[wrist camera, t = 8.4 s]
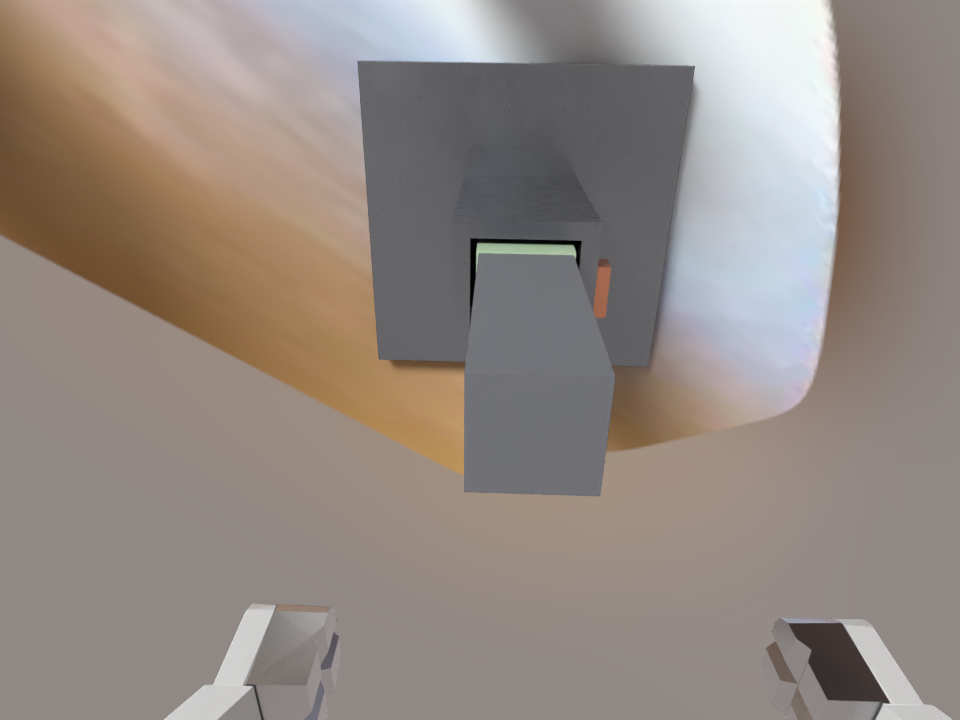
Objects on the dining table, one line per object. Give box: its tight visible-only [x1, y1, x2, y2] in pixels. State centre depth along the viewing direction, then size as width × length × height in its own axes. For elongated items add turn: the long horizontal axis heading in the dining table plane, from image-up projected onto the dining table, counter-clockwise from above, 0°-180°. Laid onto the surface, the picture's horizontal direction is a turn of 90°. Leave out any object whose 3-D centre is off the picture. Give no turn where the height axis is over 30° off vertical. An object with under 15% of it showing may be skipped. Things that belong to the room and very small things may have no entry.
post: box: [464, 238, 615, 496], centre depth 24 cm, size 4×4×16 cm
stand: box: [358, 61, 695, 367], centre depth 33 cm, size 18×18×12 cm
